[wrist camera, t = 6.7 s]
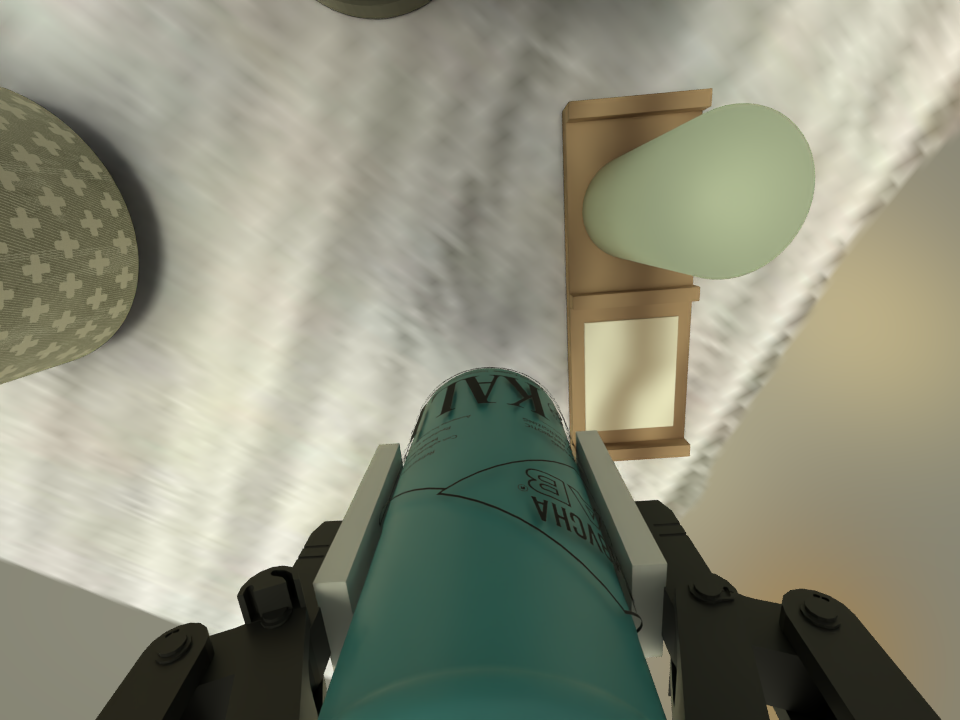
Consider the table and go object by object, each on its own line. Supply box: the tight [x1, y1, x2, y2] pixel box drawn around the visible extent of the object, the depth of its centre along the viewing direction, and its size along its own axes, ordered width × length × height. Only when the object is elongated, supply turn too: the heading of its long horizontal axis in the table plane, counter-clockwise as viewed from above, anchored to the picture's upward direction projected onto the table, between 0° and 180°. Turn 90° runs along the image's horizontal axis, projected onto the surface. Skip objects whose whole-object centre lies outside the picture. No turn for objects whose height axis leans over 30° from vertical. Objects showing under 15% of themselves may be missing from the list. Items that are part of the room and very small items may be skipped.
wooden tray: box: [562, 88, 712, 461], centre depth 33 cm, size 9×26×3 cm, turn 5°
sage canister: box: [582, 103, 815, 280], centre depth 25 cm, size 7×7×13 cm
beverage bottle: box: [318, 367, 667, 720], centre depth 12 cm, size 6×7×20 cm
